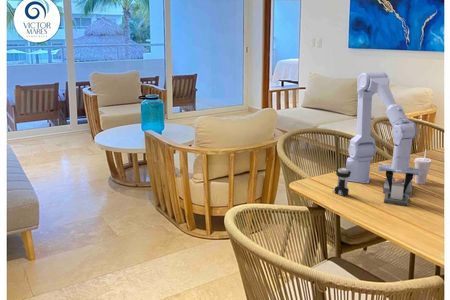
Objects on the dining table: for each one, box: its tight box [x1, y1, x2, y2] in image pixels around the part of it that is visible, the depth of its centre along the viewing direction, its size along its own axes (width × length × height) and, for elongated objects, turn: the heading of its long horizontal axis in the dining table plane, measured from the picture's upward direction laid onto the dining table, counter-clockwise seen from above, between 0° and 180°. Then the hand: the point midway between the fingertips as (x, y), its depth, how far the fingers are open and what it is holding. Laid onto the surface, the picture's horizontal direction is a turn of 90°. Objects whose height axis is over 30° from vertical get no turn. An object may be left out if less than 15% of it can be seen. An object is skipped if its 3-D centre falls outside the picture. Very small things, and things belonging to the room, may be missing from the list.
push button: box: [331, 167, 351, 197], centre depth 177 cm, size 7×5×10 cm
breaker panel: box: [382, 176, 413, 198], centre depth 183 cm, size 10×12×4 cm
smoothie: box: [413, 148, 432, 185], centre depth 189 cm, size 6×6×14 cm
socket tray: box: [383, 192, 409, 207], centre depth 172 cm, size 8×8×1 cm
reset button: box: [394, 177, 404, 183], centre depth 180 cm, size 3×3×3 cm
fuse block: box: [391, 181, 404, 200], centre depth 171 cm, size 4×4×6 cm
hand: (397, 191), depth 172 cm, fingers closed on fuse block, 4 cm apart
